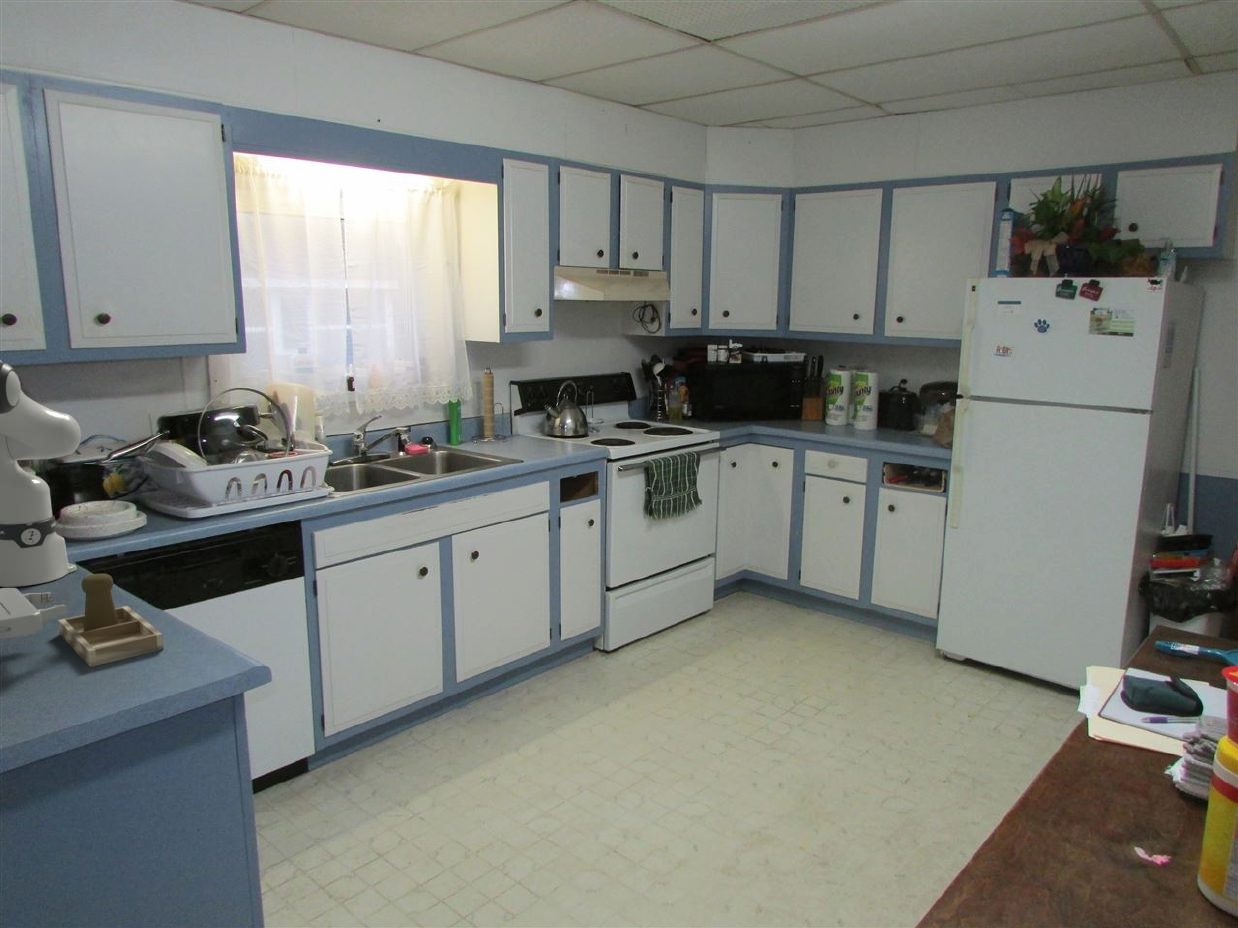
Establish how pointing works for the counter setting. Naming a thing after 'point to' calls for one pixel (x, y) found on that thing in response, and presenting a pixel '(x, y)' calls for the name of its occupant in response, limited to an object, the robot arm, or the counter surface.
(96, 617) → the cork
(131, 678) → the counter surface
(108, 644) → the caddy
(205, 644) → the counter surface
